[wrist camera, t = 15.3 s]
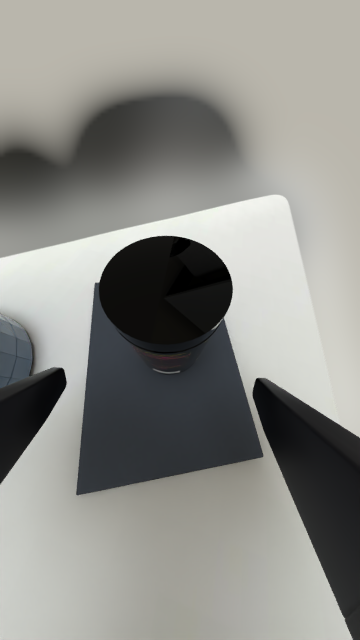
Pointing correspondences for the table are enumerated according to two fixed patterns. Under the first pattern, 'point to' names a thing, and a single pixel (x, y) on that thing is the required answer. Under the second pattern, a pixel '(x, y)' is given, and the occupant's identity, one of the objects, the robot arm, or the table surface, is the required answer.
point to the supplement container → (166, 299)
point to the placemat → (159, 412)
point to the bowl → (13, 352)
